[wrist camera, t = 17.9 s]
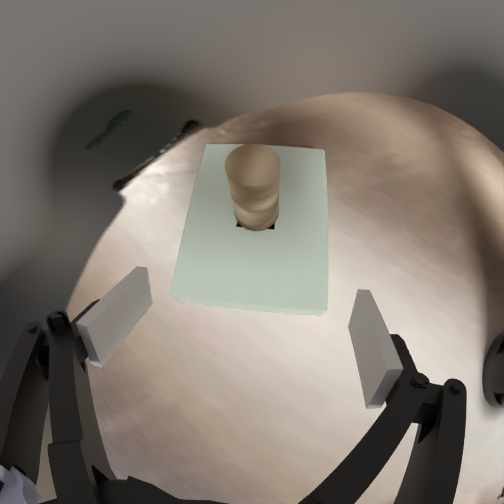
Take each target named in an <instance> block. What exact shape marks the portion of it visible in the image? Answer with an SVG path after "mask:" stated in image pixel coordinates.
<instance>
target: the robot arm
mask: <svg viewBox="0 0 504 504" xmlns="http://www.w3.org/2000/svg"><path fill="white" fill-rule="evenodd" d="M151 305H152V298H151V292H150V285H149V278H148V270H147V268H145V267H138V266H137V267H136V268H135V269H134V270H133V271H132V272H130V273H129V274H128V275H127V276H126V277H125V278H124V279H123V280H121V281H120V282H119V283H118V284H117V285H116V286H115V287H114V288H113V289H111V290H110V291H109V292H108V293H107V294H106V295H105V296H104V297H103V298H102V299H101V300H100V299H98V300H96V301H94V302H92V303H91V304H90V305H89V306H88V307H87V308H86V309H84V310H83V311H82V313H80V314H79V315H78V316H77V317H76V318H75V319H74V320H73V321H72V322H71V323H70V321H69V319H68V316H67V313H66V312H65V311H55V312H52V313H51V314H49V315H48V316H47V317H46V322H47V325H48V327H49V330H43V327H42V325H41V323H39V322H32V323H29V324H28V325H27V326H26V327H25V328H24V329H23V331H22V333H21V335H20V338H19V339H18V341H17V344H16V346H15V348H14V350H13V352H12V354H11V357H10V359H9V361H8V364H7V366H6V369H5V371H4V374H3V376H2V378H1V381H0V504H37V503H39V502H40V501H41V496H40V494H39V493H38V492H37V489H36V483H37V478H38V472H39V464H40V453H41V444H42V436H43V429H44V423H45V417H46V411H47V406H48V402H49V404H50V419H51V429H52V438H53V442H52V444H48V457H49V462H50V468H51V474H52V478H53V483H54V487H55V491H56V495H57V498H56V499H53V500H50V501H46V502H43V503H39V504H227V503H221V502H216V501H211V500H183V499H178V498H175V497H174V496H172V495H170V494H168V493H166V492H165V491H163V490H161V489H159V488H158V487H156V486H154V485H152V484H150V483H147V482H144V481H141V480H139V479H136V478H134V477H131V476H128V478H127V480H121V479H117V478H116V476H115V475H114V473H113V471H112V470H111V468H110V465H109V462H108V459H107V456H106V453H105V450H104V446H103V443H102V439H101V435H100V431H99V427H98V423H97V419H96V415H95V410H94V405H93V400H92V395H91V389H90V383H89V377H88V370H87V364H86V362H85V359H86V358H87V357H88V356H89V359H90V361H91V363H92V364H93V365H96V366H99V367H101V368H103V367H104V365H105V364H106V363H107V361H108V360H109V359H110V357H111V356H112V355H113V353H114V352H115V351H116V349H117V348H118V347H119V345H120V344H121V343H122V342H123V340H124V339H125V338H126V336H127V335H128V334H129V333H130V331H131V330H132V329H133V327H134V326H135V325H136V324H137V322H138V321H139V320H140V319H141V317H142V316H143V315H144V314H145V312H146V311H147V310H148V309H149V307H150V306H151ZM348 328H349V332H350V336H351V340H352V344H353V348H354V352H355V357H356V361H357V366H358V370H359V375H360V380H361V384H362V389H363V394H364V400H365V405H366V409H374V408H381V407H382V405H383V404H384V402H385V401H386V405H387V406H386V407H385V409H384V410H383V412H382V413H381V414H380V416H379V417H378V419H377V420H376V421H375V423H374V424H373V425H372V427H371V428H370V429H369V430H368V432H367V433H366V434H365V436H364V437H363V438H362V439H361V440H360V442H359V443H358V444H357V445H356V446H355V448H354V449H353V450H352V451H351V452H350V453H349V455H348V456H347V457H346V458H345V459H344V460H343V461H342V462H341V463H340V465H339V466H338V467H337V468H336V469H335V470H334V471H333V472H332V473H331V474H330V475H329V476H328V477H327V478H326V479H325V480H324V481H323V482H322V483H321V484H320V485H319V486H318V487H317V488H316V489H315V490H313V491H312V492H311V493H310V494H309V495H308V496H306V497H305V498H304V499H303V500H302V501H300V502H299V503H298V504H354V503H355V502H356V501H357V500H358V499H359V498H360V496H361V495H362V494H363V493H364V492H365V490H366V489H367V488H368V487H369V485H370V484H371V483H372V482H373V480H374V479H375V478H376V476H377V475H378V474H379V472H380V471H381V470H382V468H383V467H384V466H385V464H386V463H387V461H388V460H389V458H390V457H391V455H392V454H393V452H394V451H395V449H396V448H397V446H398V445H399V443H400V441H401V440H402V438H403V437H404V435H405V433H406V432H407V430H408V428H409V426H410V425H411V423H418V424H419V425H418V429H417V433H416V437H415V441H414V445H413V449H412V452H411V456H410V459H409V463H408V466H407V469H406V472H405V475H404V478H403V481H402V484H401V486H400V489H399V492H398V494H397V497H396V499H395V502H394V504H453V500H454V497H455V492H456V488H457V484H458V479H459V473H460V468H461V462H462V455H463V447H464V438H465V425H466V400H467V391H466V387H465V385H464V384H463V383H462V382H461V381H460V380H457V379H448V380H447V381H446V382H445V383H444V385H437V384H432V383H430V382H429V379H428V378H427V377H426V376H425V375H424V374H422V373H419V372H418V371H417V369H416V367H415V364H414V362H413V360H412V357H411V355H410V354H409V350H408V348H407V346H406V344H405V342H404V340H403V339H402V338H401V337H400V336H399V335H398V334H389V332H388V329H387V327H386V325H385V322H384V320H383V318H382V316H381V313H380V311H379V309H378V307H377V305H376V302H375V300H374V298H373V296H372V294H371V292H370V290H360V289H358V292H357V296H356V299H355V303H354V307H353V311H352V315H351V318H350V322H349V325H348ZM36 360H37V361H36ZM483 389H484V394H485V397H486V399H487V401H488V403H489V404H490V405H492V406H494V407H504V332H503V333H501V334H500V335H498V336H497V338H496V339H495V340H494V342H493V343H492V345H491V347H490V349H489V352H488V355H487V358H486V362H485V366H484V373H483Z"/></svg>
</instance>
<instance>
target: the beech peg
mask: <svg viewBox="0 0 504 504" xmlns="http://www.w3.org/2000/svg"><path fill="white" fill-rule="evenodd" d="M225 171H226V176H227V180H228V185H229V189H230V193H231V198H232V202H233V207H234V213H235V217H236V220H237V222H238V223H239V224H240V225H241V226H242V227H243V228H245V229H247V230H250V231H262V230H265V229H269V228H270V227H271V226H272V225H273V224H274V223H275V222H276V220H277V218H278V214H279V187H280V158H279V156H278V154H277V153H276V152H275V151H274V150H273V149H271V148H270V147H268V146H265V145H262V144H245V145H242V146H239V147H237V148H235V149H234V150H233V151H231V152H230V153H229V155H228V156H227V158H226V160H225Z"/></svg>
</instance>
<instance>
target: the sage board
mask: <svg viewBox="0 0 504 504" xmlns="http://www.w3.org/2000/svg"><path fill="white" fill-rule="evenodd" d="M242 145H245V144H206V146H205V149H204V153H203V156H202V160H201V163H200V167H199V170H198V174H197V178H196V181H195V185H194V189H193V193H192V197H191V201H190V205H189V209H188V213H187V217H186V222H185V226H184V230H183V235H182V239H181V244H180V248H179V253H178V258H177V263H176V268H175V273H174V278H173V284H172V289H171V295H170V296H172V297H173V298H175V299H176V300H178V301H179V302H181V303H185V304H193V305H200V306H209V307H217V308H226V309H235V310H245V311H256V312H267V313H279V314H292V315H308V316H321V315H322V314H323V313H324V312H326V311H327V301H328V201H327V179H326V163H325V150H322V149H312V148H301V147H289V146H273V145H265V146H268V147H270V148H271V149H273V150H274V151H275V152H276V153H277V154H278V156H279V158H280V187H279V214H278V218H277V220H276V222H275V227H274V229H265V230H262V231H250V230H247V229H245V228H243V227H242V226H241V225H240V224H239V223H238V222H237V220H236V217H235V213H234V207H233V202H232V198H231V193H230V189H229V185H228V180H227V176H226V171H225V160H226V158H227V156H228V155H229V153H230V152H231V151H233V150H234V149H235V148H237V147H239V146H242Z"/></svg>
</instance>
